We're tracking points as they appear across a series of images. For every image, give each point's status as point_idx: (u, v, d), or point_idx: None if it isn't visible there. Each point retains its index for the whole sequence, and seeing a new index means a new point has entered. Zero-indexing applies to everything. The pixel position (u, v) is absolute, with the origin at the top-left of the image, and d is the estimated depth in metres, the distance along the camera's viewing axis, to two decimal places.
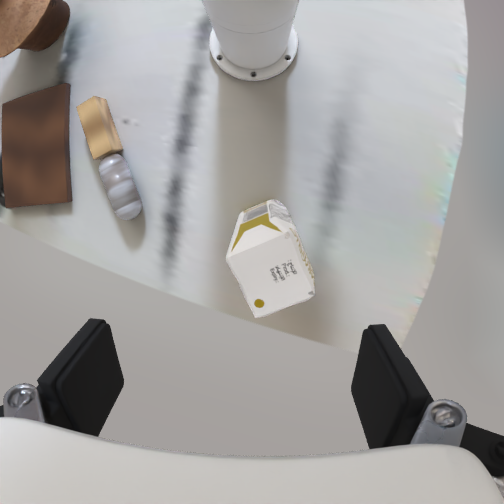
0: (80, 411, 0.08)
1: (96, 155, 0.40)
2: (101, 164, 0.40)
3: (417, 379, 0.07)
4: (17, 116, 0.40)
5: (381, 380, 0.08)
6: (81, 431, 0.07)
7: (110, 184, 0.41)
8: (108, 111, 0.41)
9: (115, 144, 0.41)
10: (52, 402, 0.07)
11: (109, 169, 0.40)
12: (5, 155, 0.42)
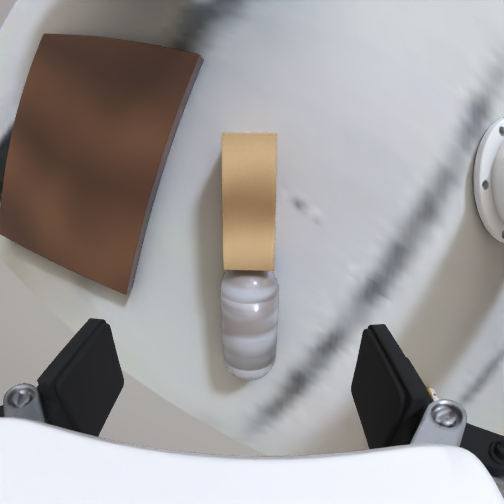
0: (80, 411, 0.08)
1: (233, 265, 0.21)
2: (239, 287, 0.22)
3: (417, 379, 0.07)
4: (63, 72, 0.19)
5: (381, 380, 0.08)
6: (81, 431, 0.07)
7: (244, 331, 0.23)
8: None
9: None
10: (52, 402, 0.07)
11: (253, 306, 0.22)
12: (18, 138, 0.21)
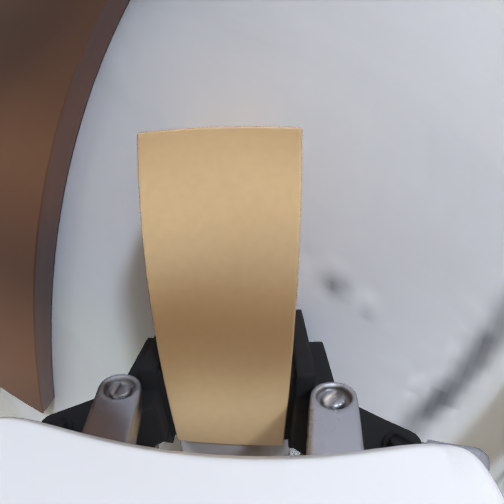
0: None
1: (198, 436, 0.09)
2: None
3: (310, 360, 0.08)
4: None
5: None
6: None
7: None
8: None
9: None
10: (151, 390, 0.08)
11: None
12: None
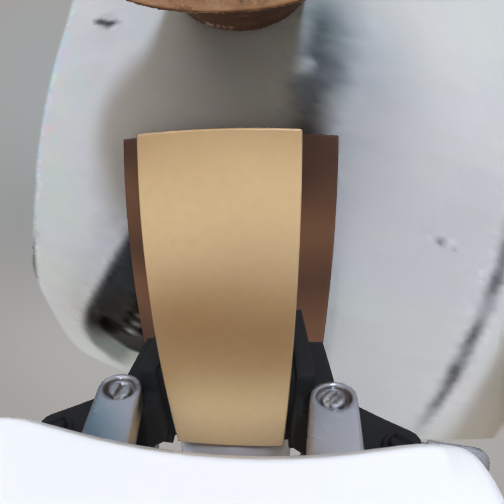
0: None
1: (198, 437, 0.09)
2: None
3: (310, 360, 0.08)
4: None
5: None
6: None
7: None
8: None
9: None
10: (151, 391, 0.08)
11: None
12: None
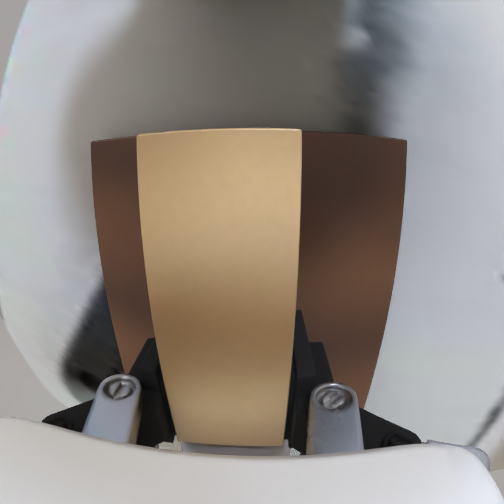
0: None
1: (198, 437, 0.09)
2: None
3: (310, 360, 0.08)
4: None
5: None
6: None
7: None
8: None
9: None
10: (151, 391, 0.08)
11: None
12: (129, 320, 0.17)
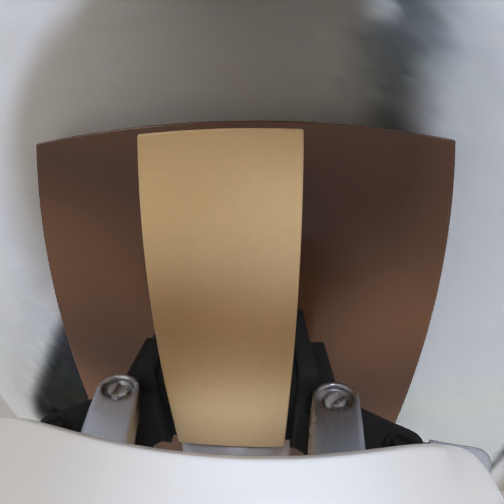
0: None
1: (198, 438, 0.09)
2: None
3: (312, 360, 0.08)
4: (141, 228, 0.11)
5: None
6: (172, 418, 0.09)
7: None
8: None
9: None
10: (149, 390, 0.08)
11: None
12: (96, 367, 0.13)
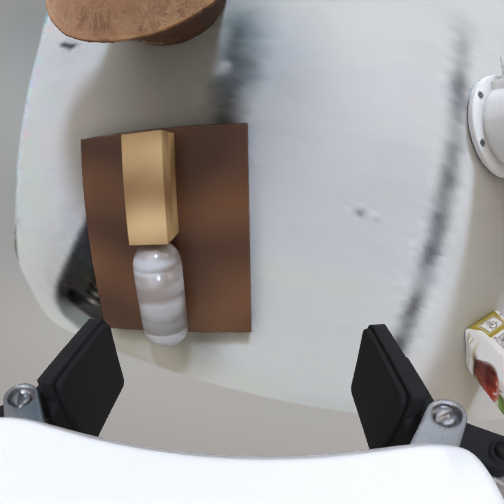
0: (80, 411, 0.08)
1: (136, 241, 0.25)
2: (142, 259, 0.25)
3: (417, 379, 0.07)
4: None
5: (381, 380, 0.08)
6: (81, 431, 0.07)
7: (150, 299, 0.26)
8: (173, 159, 0.26)
9: (172, 229, 0.26)
10: (52, 402, 0.07)
11: (155, 275, 0.25)
12: (99, 240, 0.29)
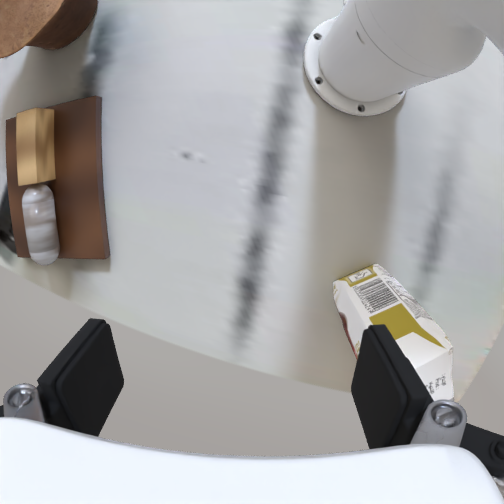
0: (80, 411, 0.08)
1: (21, 182, 0.29)
2: (24, 195, 0.30)
3: (417, 379, 0.07)
4: None
5: (381, 380, 0.08)
6: (81, 431, 0.07)
7: (28, 223, 0.31)
8: (51, 127, 0.31)
9: (45, 174, 0.31)
10: (52, 402, 0.07)
11: (30, 205, 0.30)
12: (13, 189, 0.34)
